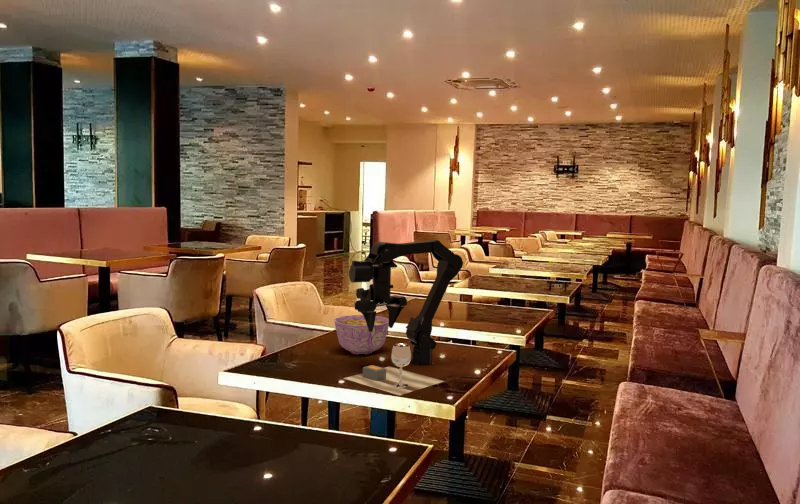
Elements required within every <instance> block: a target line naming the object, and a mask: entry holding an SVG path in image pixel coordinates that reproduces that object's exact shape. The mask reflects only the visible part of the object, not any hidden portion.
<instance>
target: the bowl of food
mask: <svg viewBox="0 0 800 504" xmlns="http://www.w3.org/2000/svg"><path fill="white" fill-rule="evenodd" d="M333 322H334V325H335V331H336V335H337V339H338V343H339V345H340V346H341V347H342V348H344V349H345V350H346V351H348V352H349V353H350V354H354V355H359V354H365V355H370V353H371V354H373V353H374V352H375V351H377V350H379V349H381V348H382V347H383V345H384V344H385V342H386V338H387V335H388V332H389V331H388V330H389V318H387V317H384V316H380V315H376V317H375V322H374V327H373V331H372V332H369V329H368V326H367V323H366V320H365V318H364V316H363V314H351V315H350V314H349V315H343V316H342V315H341V316H339V317H335V318H334V319H333ZM372 352H373V353H372Z"/></svg>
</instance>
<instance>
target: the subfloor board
mask: <svg viewBox="0 0 800 504" xmlns="http://www.w3.org/2000/svg"><path fill="white" fill-rule="evenodd" d="M384 368H385V369H386V379H383V380H379V381H375V380H371V379H368V378H364V377H363V372H362V373H358V374H355V375H351V376H347V377H344V378H343V380H348V381H350V382H352V383H357V384H360V385H364V386H367V387H370V388H373V389H377V390H380V391H384V392H388V393H390V394H393V395H396V396H403V395H405V394H409V393H411V392H416V391H419V390H421V389H425V388H427V387H431V386H433V385H439V384H441V383H444V382H445V380H441V379H438V378H434V377H430V376H427V375H423V374H419V373H415V372H412V371H408V370H405V369H403V372H402V383H404V384H407V385H408V387H406V388H397V387H394V386H393V384H396V383H399V382H400V372H399V369H400V368H398V367H397V368H396V367H393V366H385V367H384Z"/></svg>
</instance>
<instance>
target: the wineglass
mask: <svg viewBox="0 0 800 504" xmlns="http://www.w3.org/2000/svg"><path fill="white" fill-rule="evenodd" d="M411 351H412V350H411V346H410V344H408V343H400V342H399V343H398V342H397V343H394V344H393V346H392V349H391V355H390V358H391V363H392V364H393V365H394V366H396V367H397V368H398V367H399V368H398V369H399V372H400V382H399V383H396V384H393V386H394V387H397V388H406V387H408V385H407V384H404V383H402V372H403V370H404V369H403V368H404V367H406V366H409V364H410V363H411V361H412V352H411Z"/></svg>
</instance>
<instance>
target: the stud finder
mask: <svg viewBox="0 0 800 504" xmlns="http://www.w3.org/2000/svg"><path fill="white" fill-rule="evenodd" d="M362 373H363V377H364V378H368V379H371V380H375V381H379V380H383V379H386V369H385V367H383V366H382V367H381V366H377V365H375V364H370V365H368V366H367V365H366V366H363V367H362Z"/></svg>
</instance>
